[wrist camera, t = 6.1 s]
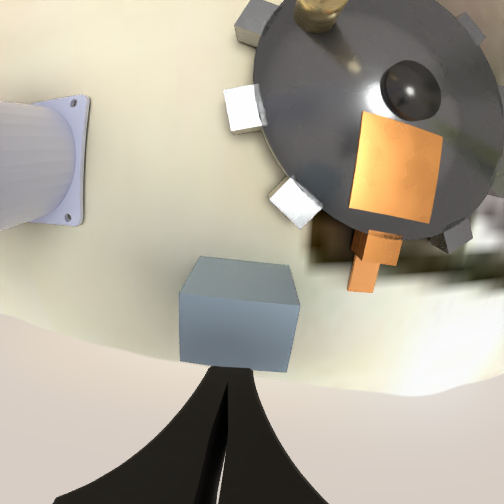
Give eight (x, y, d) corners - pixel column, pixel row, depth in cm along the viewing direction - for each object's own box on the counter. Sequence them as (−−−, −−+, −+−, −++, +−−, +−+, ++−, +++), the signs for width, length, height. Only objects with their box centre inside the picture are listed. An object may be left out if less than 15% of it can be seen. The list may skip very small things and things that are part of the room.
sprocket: (397, 307, 17) (438, 356, 12) (160, 122, 14) (114, 106, 9) (524, 117, 13) (575, 117, 7) (344, -59, 10) (365, -106, 5)
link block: (198, 311, 18) (180, 361, 13) (200, 255, 17) (179, 292, 12) (280, 320, 18) (286, 372, 13) (288, 265, 17) (300, 305, 12)
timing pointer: (347, 289, 17) (348, 291, 17) (354, 253, 17) (356, 255, 16) (371, 290, 17) (372, 292, 17) (379, 256, 17) (381, 258, 16)
